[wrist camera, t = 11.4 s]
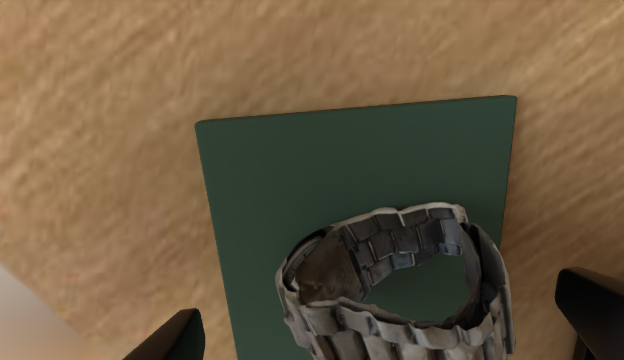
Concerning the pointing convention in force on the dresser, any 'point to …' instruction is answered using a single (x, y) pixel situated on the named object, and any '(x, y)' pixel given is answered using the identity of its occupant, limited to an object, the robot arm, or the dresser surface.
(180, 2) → the dresser surface
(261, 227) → the plate
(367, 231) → the wristwatch
